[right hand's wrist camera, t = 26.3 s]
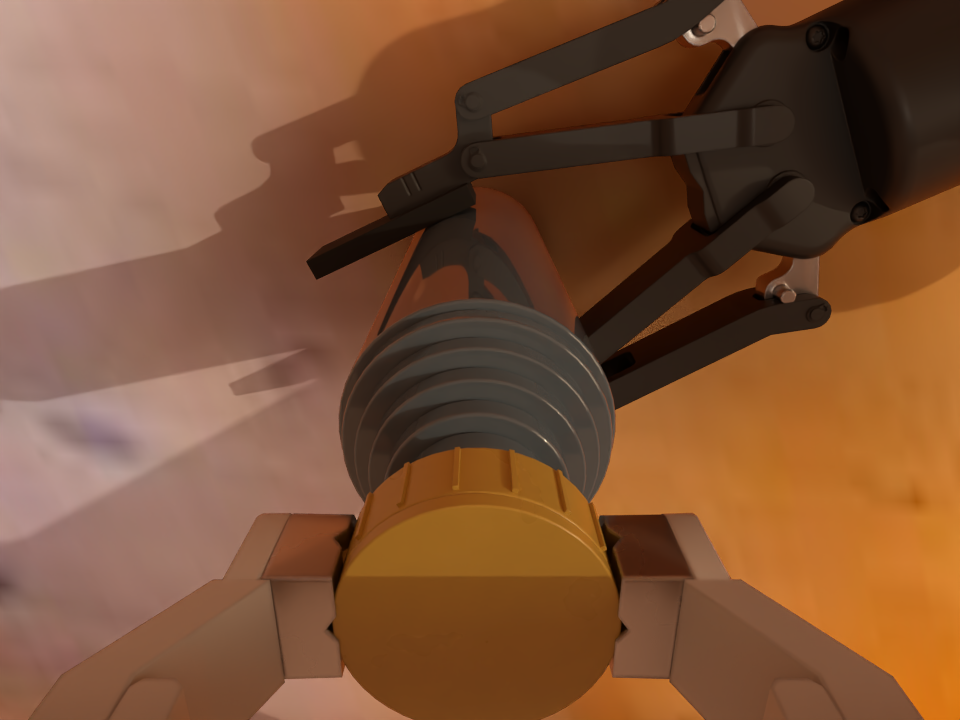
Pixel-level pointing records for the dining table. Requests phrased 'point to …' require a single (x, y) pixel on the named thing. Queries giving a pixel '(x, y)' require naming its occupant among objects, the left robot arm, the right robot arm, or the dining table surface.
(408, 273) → the bottle
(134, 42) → the dining table surface
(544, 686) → the cap
